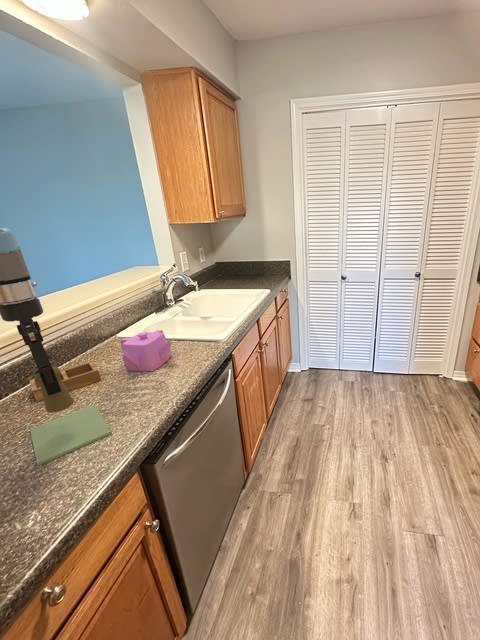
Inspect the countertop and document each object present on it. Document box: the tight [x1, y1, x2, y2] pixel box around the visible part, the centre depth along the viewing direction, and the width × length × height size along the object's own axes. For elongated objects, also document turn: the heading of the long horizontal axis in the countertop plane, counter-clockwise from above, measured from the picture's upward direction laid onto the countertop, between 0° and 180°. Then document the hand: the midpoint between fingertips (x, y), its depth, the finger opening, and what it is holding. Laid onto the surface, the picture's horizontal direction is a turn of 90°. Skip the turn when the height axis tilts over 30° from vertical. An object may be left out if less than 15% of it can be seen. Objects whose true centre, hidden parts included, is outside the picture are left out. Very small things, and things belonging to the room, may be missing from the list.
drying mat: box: [29, 403, 112, 466], centre depth 87 cm, size 18×16×1 cm
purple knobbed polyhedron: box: [120, 329, 173, 373], centre depth 122 cm, size 17×17×12 cm
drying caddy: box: [29, 360, 102, 403], centre depth 110 cm, size 10×18×4 cm, turn 132°
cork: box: [33, 365, 75, 414], centre depth 82 cm, size 6×6×11 cm
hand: (53, 388), depth 82 cm, fingers closed on cork, 5 cm apart
